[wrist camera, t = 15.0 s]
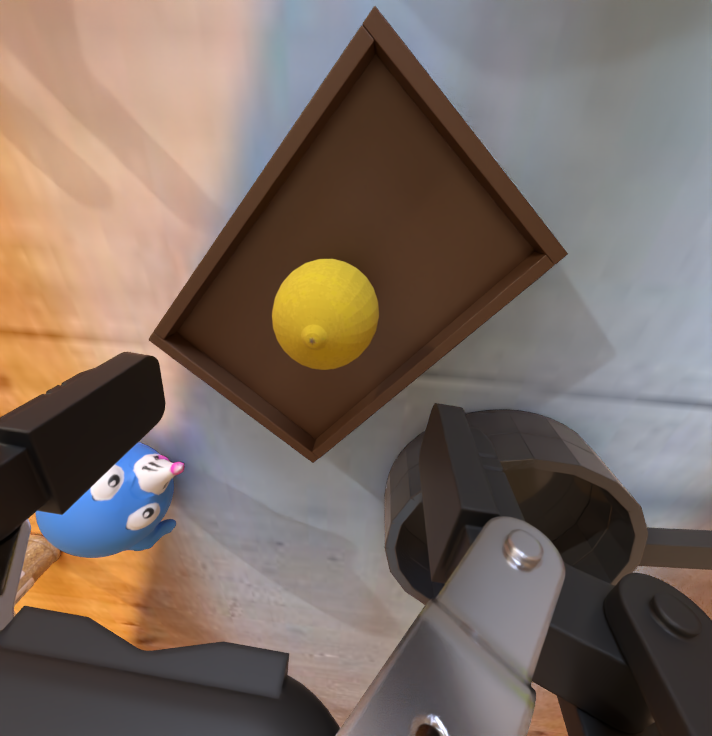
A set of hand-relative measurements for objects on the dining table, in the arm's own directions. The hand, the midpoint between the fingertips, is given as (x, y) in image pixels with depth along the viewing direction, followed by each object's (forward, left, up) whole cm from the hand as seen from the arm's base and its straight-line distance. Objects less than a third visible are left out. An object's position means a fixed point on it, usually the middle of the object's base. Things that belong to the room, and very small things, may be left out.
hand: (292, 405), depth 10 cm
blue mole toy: (+22, -2, -14) cm, 26 cm away
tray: (0, 0, -14) cm, 14 cm away
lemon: (0, 0, -13) cm, 13 cm away
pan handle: (-6, +31, -10) cm, 33 cm away
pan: (+4, +21, -14) cm, 25 cm away
